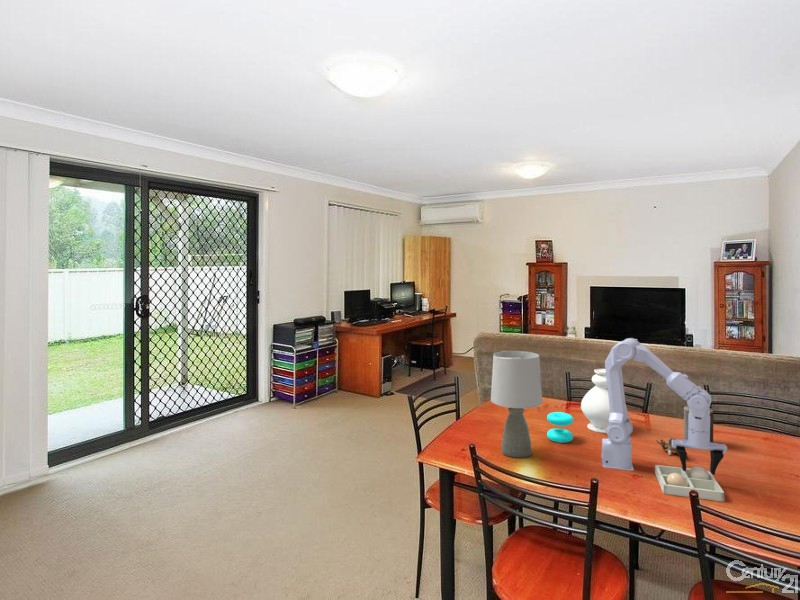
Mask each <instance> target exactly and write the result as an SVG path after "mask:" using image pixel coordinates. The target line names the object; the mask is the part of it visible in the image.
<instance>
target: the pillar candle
mask: <svg viewBox="0 0 800 600" xmlns="http://www.w3.org/2000/svg"><path fill="white" fill-rule="evenodd" d="M688 416H689V406H688V405H685V406H684V407H683V440H688ZM710 442H712V443H714V410H713V409H712V408H710Z"/></svg>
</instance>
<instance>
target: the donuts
mask: <svg viewBox="0 0 800 600" xmlns="http://www.w3.org/2000/svg"><path fill="white" fill-rule="evenodd" d="M546 420H547V421H548V423H550V424H552V425H554V426H558V427H565V426H570V425H573V422H574V417H573V416H572V414H570V413H566V412H561V411H555V412H550V413H548V414H547V417H546ZM546 436H547V438H548V439H549V441H552V442H554V443H559V444H560V443H561V444H564V443H565V444H566V443H570V442H572V441H573V439H574V435H573V433H572V432H571V431H570V430H568V429H565V428H557V427H556V428H551V429H549V430H547V433H546Z"/></svg>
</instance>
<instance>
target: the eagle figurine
mask: <svg viewBox="0 0 800 600" xmlns="http://www.w3.org/2000/svg"><path fill="white" fill-rule="evenodd" d="M667 440H668V443H666V441H665V440H664V439H660V440H659V441H660V442H659V441H658V439H656V440H655V441H656V443H657V444H659V445H660V446H661V448H662V451H663V450H664V451H666V450H667V453H668V454H667V455H669V456H671V455H672V451H673V452H675V453H676V454H678V452H677V450H676V448H674V447H672V440H677V439H676V438H671V437H670V438H669V437H667ZM664 451H663V452H664ZM687 458H689V457H688V455H687V456H686V460H688V459H687Z"/></svg>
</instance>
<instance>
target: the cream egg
mask: <svg viewBox="0 0 800 600" xmlns="http://www.w3.org/2000/svg"><path fill="white" fill-rule="evenodd" d="M690 469H691V470H690V472H689V475H690V477H691V478H697V479H705V480H708V473H707V471H708V470H706V469H705V468H703V467H702V466H693V467H691V468H690Z"/></svg>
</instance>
